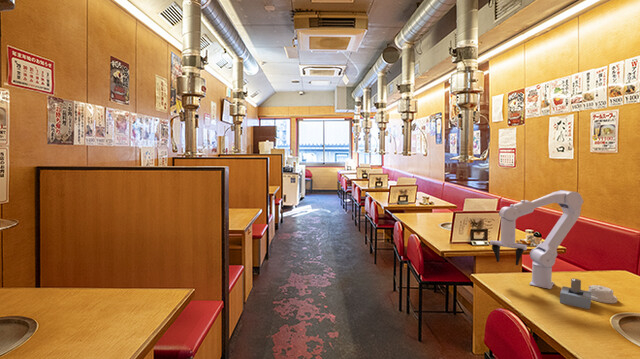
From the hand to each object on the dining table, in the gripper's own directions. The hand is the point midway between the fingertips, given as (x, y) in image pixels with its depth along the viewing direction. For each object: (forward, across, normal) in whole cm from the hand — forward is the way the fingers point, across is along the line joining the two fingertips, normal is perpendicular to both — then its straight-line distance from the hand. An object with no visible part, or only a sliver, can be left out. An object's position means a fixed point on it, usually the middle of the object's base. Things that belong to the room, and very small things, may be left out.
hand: (507, 263), depth 147 cm
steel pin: (+9, +25, -5) cm, 27 cm away
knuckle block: (+9, +25, -5) cm, 27 cm away
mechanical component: (+10, +32, +6) cm, 34 cm away
